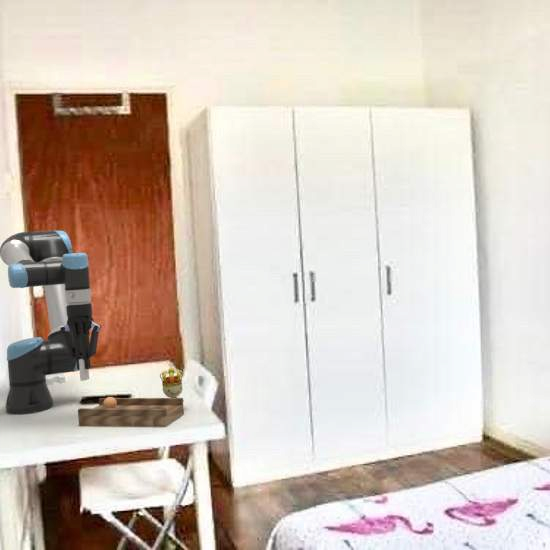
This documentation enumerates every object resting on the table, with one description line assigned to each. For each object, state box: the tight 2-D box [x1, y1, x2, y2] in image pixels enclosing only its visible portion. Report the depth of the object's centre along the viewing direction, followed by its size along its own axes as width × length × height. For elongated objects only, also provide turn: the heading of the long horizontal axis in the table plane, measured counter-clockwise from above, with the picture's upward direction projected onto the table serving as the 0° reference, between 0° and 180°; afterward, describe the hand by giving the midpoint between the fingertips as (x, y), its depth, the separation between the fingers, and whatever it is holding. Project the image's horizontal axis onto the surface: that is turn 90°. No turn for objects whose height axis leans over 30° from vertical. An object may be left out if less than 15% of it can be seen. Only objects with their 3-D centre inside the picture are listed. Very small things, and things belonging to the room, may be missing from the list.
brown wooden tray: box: [77, 397, 185, 428], centre depth 210 cm, size 28×14×5 cm, turn 76°
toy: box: [159, 362, 184, 403], centre depth 219 cm, size 7×7×15 cm
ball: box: [103, 396, 117, 409], centre depth 211 cm, size 4×4×4 cm
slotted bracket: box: [46, 373, 66, 386], centre depth 279 cm, size 13×7×8 cm, turn 24°
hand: (84, 379), depth 212 cm, fingers closed
